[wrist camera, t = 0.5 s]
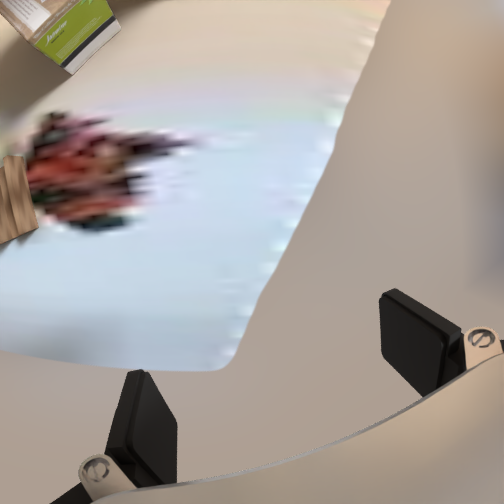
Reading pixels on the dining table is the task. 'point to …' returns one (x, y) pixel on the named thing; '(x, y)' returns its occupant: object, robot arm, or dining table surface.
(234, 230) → the dining table surface
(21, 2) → the tea box
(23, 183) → the rack
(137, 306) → the dining table surface
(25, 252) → the dining table surface
